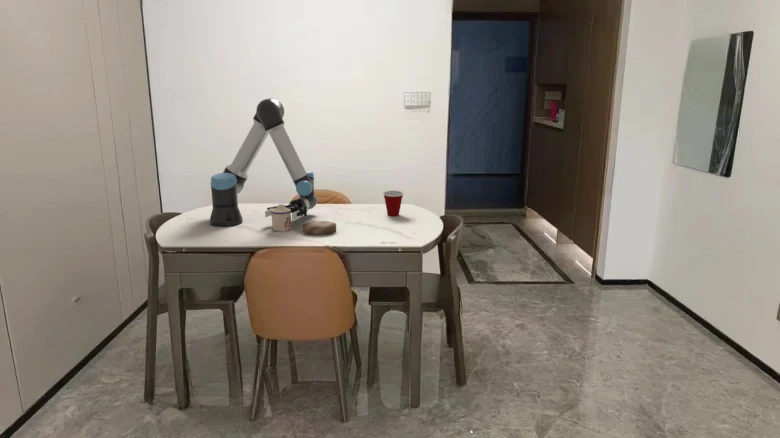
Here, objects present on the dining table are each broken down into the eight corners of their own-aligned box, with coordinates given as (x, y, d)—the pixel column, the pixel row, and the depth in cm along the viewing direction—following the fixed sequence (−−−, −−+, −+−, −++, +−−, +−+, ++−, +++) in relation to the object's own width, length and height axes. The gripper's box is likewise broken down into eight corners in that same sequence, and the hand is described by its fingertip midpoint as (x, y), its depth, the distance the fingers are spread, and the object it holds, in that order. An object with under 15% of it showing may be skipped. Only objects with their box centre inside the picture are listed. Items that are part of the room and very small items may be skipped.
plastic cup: (382, 217, 273) (382, 194, 271) (382, 213, 284) (382, 190, 281) (404, 217, 274) (404, 194, 271) (403, 212, 284) (403, 190, 281)
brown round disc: (297, 234, 241) (297, 227, 241) (311, 226, 256) (311, 220, 255) (328, 236, 238) (328, 229, 237) (341, 228, 252) (340, 222, 251)
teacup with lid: (288, 232, 245) (287, 206, 242) (269, 231, 246) (267, 206, 243) (296, 225, 257) (295, 201, 254) (277, 225, 258) (276, 201, 255)
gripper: (322, 215, 264) (304, 225, 244) (276, 211, 271) (255, 221, 251) (322, 199, 263) (304, 208, 243) (275, 197, 269) (254, 205, 249)
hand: (279, 215), depth 247 cm, fingers open, 13 cm apart
